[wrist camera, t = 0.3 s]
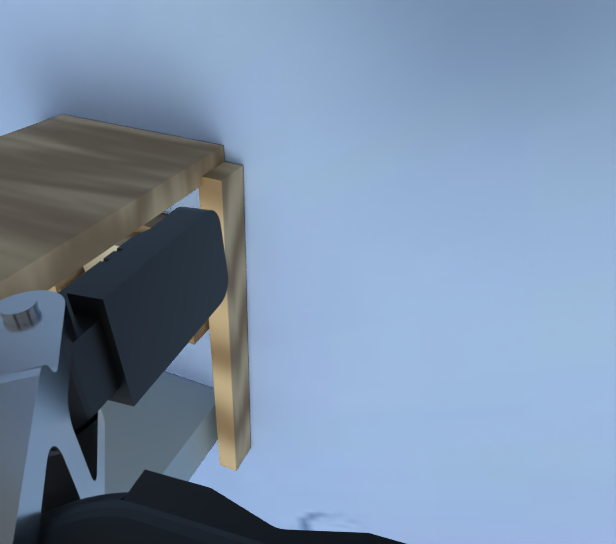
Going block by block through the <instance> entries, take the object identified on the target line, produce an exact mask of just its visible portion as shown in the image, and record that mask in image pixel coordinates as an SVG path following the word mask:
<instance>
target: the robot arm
mask: <svg viewBox="0 0 616 544" xmlns="http://www.w3.org/2000/svg"><path fill="white" fill-rule="evenodd" d="M103 259H104V260H103V261H99V262H98V263H97V264H96V265H94V266H93V267H92V268H90V269H89V270H88V271H86V272H85V273H84V274H82V275H81V276H80V277H78V278H77V279H76V280H74V281H73V282H72V283H70V284H69V285H68V286H66V287H65V288H64V289H62V290H61V291H60V292H58V293H56V292H53V291H47V290H36V291H28V292H23V293H19V294H15V295H12V296H9V297H7V298H4V299H2V300H0V544H405V543H402V542H398V541H395V540H391V539H388V538H384V537H381V536H377V535H374V534H370V533H356V532H332V531H307V530H285V529H279V528H276V527H274V526H272V525H270V524H268V523H266V522H265V521H263V520H262V519H260V518H258V517H257V516H255V515H254V514H252V513H250V512H249V511H247V510H246V509H244V508H242V507H241V506H239V505H237V504H236V503H234V502H233V501H231V500H229V499H228V498H226V497H225V496H223V495H221V494H220V493H218V492H216V491H215V490H213V489H212V488H209V487H205V486H202V485H198V484H195V483H191V482H188V481H184V480H181V479H177V478H174V477H170V476H167V475H163V474H160V473H156V472H153V471H149V470H146V469H145V470H144V471H143V473H142V474H141V475H140V477H139V478H138V479H137V481H136V482H135V484H134V485H133V486H132V488H131V489H130V491H129V492H121V493H109V494H105V420H104V416H103V413H102V410H101V407H102V406H103V405H104V404H105V403H106V402H107V401H108V400H109V401H113V402H117V403H121V404H125V405H129V406H135V405H136V404H137V403H138V401H139V400H140V399H141V398H142V397H143V396H144V394H145V393H146V392H147V391H148V390H149V388H150V387H151V386H152V385H153V384H154V383H155V381H156V380H157V379H158V378H159V377H160V375H161V374H162V373H163V372H164V371H165V369H166V368H167V367H168V366H169V365H170V364H171V362H172V361H173V360H174V359H175V358H176V356H177V355H178V354H179V353H180V352H181V351H182V349H183V348H184V347H185V346H186V345H187V343H188V342H189V341H190V340H191V339H192V337H193V336H194V335H195V334H196V333H197V332H198V330H199V329H200V328H201V327H202V326H203V324H204V323H205V322H206V321H207V320H208V319H209V317H210V316H211V315H212V314H213V313H214V311H215V310H216V309H217V308H218V307H219V306H220V304H221V303H222V301H223V300H224V297H225V295H226V292H227V287H228V271H227V264H226V257H225V250H224V243H223V236H222V230H221V223H220V219H219V216H218V214H217V213H216V212H215V211H213V210H207V209H197V208H188V207H178V208H176V209H175V210H174V211H172V212H171V213H170V214H168V215H167V216H166V217H165V218H163V219H162V220H161V221H159V222H158V223H157V224H156V225H154V226H153V227H152V228H150V229H148V230H146V231H144V232H141V233H139V234H137V235H134V236H133V237H131V238H130V239H129V240H127V241H126V242H125V243H123V244H122V245H121V246H119V247H118V248H117V251H113V252H111V253H110V254H109V255H107V256H106V257H105V258H103Z"/></svg>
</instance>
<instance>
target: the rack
mask: <svg viewBox="0 0 616 544" xmlns="http://www.w3.org/2000/svg"><path fill="white" fill-rule="evenodd" d="M197 188H199V196H200V209H207V210H213V211H215V212H216V213H217V214H218V216H219V219H220V223H221V230H222V236H223V243H224V250H225V257H226V264H227V271H228V287H227V292H226V295H225V297H224V300H223V301H222V303H221V304H220V306H219V307H218V308H217V309H216V310H215V311H214V313H213V314H212V315H211V316H210V317H209V319H208V320H207V321H206V322H205V323H204V324H203V326H202V327H201V328H200V329H199V330H198V332H197V333H196V334H195V335H194V336H193V337H192V339H191V340H190V341H189V342H188V343H191V344H195V343H196V342H197V341H198V340H199V339H200V338H201V337H202V336H203V335H204V334H205V333H206V331H207V330H208V329H209V328H210V341H211V354H212V368H213V381H214V394H215V407H216V421H217V434H218V447H219V460H220V465H222V466H224V467H227V468H230V469H232V470H235V471H237V469H238V468H239V466H240V464H241V463H242V461H243V460H244V458H245V456H246V455H247V453H248V452H249V450H250V448H251V438H250V402H249V365H248V328H247V291H246V254H245V217H244V181H243V165H238V164H233V163H228V162H224V145H218V144H213V143H208V142H203V141H198V140H193V139H187V138H182V137H177V136H172V135H167V134H161V133H156V132H151V131H146V130H141V129H136V128H130V127H125V126H120V125H115V124H110V123H104V122H99V121H94V120H89V119H84V118H79V117H73V116H68V115H63V114H61V115H59V116H56V117H53V118H50V119H47V120H45V121H42V122H39V123H36V124H34V125H31V126H28V127H25V128H22V129H20V130H17V131H14V132H11V133H8V134H6V135H3V136H0V300H2V299H4V298H7V297H9V296H12V295H15V294H19V293H23V292H28V291H36V290H47V291H53V292H56V293H58V292H60V291H61V290H62V289H64V288H65V287H66V286H68V285H69V284H70V283H72V282H73V281H74V280H76V279H77V278H78V277H80V276H81V275H82V274H84V273H85V270H84V267H83V266H84V265H86V264H87V263H89V262H90V261H92V260H93V259H95V258H96V257H98V256H99V255H101V254H102V253H104V252H105V251H106V250H108V249H109V248H111V247H112V246H114V245H115V244H117V243H118V242H120V241H121V240H123V239H124V238H125V237H127V236H128V235H130V234H131V233H133V232H134V231H136V230H137V229H139V228H140V227H142V226H143V225H145V224H146V223H147V222H149V221H150V220H152V219H153V218H155V217H156V216H158V215H159V214H161V213H162V212H164V211H165V210H166V209H168V208H169V207H171V206H172V205H174V204H175V203H177V202H178V201H180V200H181V199H183V198H184V197H185V196H187V195H188V194H190V193H191V192H193V191H194V190H196V189H197Z"/></svg>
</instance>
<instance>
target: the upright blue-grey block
mask: <svg viewBox="0 0 616 544" xmlns="http://www.w3.org/2000/svg"><path fill="white" fill-rule="evenodd" d="M101 410H102V413H103V416H104V420H105V494H109V493H121V492H129V491H130V489H131V488H132V486H133V485H134V484H135V482H136V481H137V479H138V478H139V477H140V475H141V474H142V473H143V471H144V470H145V469H146V470H149V471H153V472H156V473H160V474H163V475H167V476H170V477H174V478H177V479H181V480H184V481H189V479H190V478H191V477H192V475H193V474H194V472H195V471H196V469H197V468H198V467H199V465H200V464H201V462H202V461H203V460H204V458H205V457H206V455H207V454H208V452H209V451H210V450H211V448H212V447H213V445H214V444H215V442H216V441H217V440H218V434H217V421H216V407H215V394H214V388H211V387H208V386H205V385H202V384H200V383H197V382H194V381H191V380H188V379H185V378H182V377H180V376H177V375H174V374H171V373H168V372H165V371H164V372H163V373H162V374H161V375H160V377H159V378H158V379H157V380H156V381H155V383H154V384H153V385H152V386H151V387H150V388H149V390H148V391H147V392H146V393H145V394H144V396H143V397H142V398H141V399H140V400H139V401H138V403H137V404H136V405H135V406H129V405H125V404H121V403H117V402H113V401H109V400H108V401H107V402H106V403H105V404H104V405H103V406H102V407H101Z"/></svg>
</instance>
